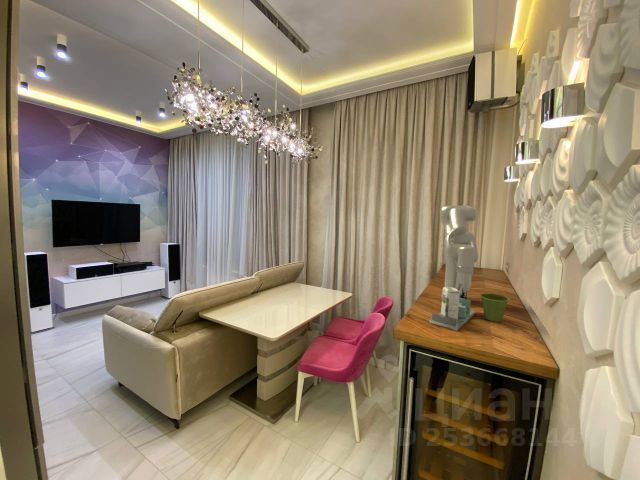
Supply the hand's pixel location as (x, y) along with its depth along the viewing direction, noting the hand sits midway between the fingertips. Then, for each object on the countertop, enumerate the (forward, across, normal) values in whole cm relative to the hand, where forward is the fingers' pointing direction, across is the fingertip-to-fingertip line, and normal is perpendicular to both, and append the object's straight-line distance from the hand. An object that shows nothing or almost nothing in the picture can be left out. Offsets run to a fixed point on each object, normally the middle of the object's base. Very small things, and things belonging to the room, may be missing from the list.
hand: (462, 303), depth 140 cm
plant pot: (+4, +2, +14) cm, 15 cm away
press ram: (+2, +10, 0) cm, 10 cm away
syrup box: (+2, +21, 0) cm, 21 cm away
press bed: (+4, +15, 0) cm, 15 cm away
